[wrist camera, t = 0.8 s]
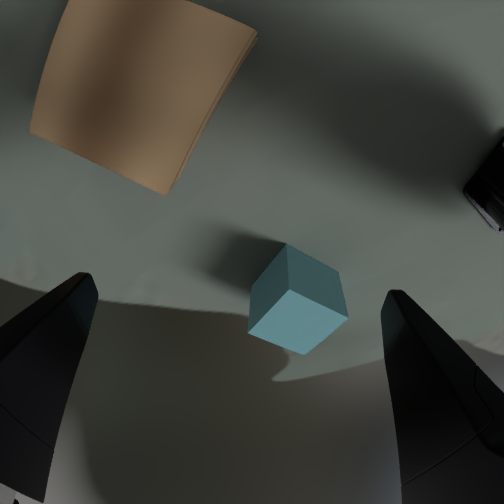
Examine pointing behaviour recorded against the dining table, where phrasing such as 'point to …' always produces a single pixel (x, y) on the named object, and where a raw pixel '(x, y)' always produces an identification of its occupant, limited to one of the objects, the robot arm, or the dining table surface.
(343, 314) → the teal cube
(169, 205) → the dining table surface
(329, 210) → the dining table surface
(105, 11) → the oak slab
